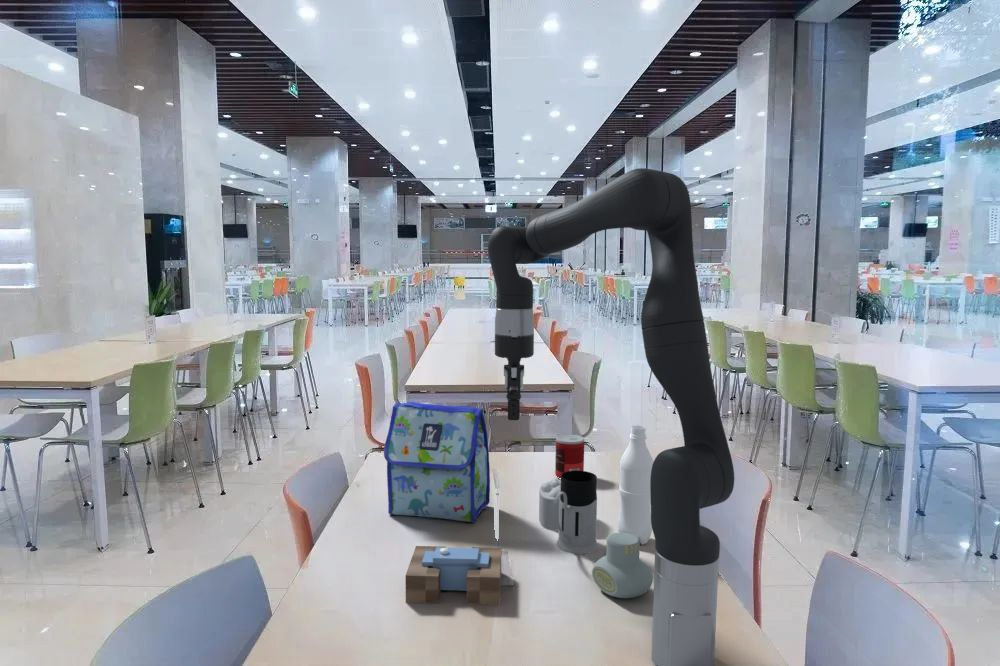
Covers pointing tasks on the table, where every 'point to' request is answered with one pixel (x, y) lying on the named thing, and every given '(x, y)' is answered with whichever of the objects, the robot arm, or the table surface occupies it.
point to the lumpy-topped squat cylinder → (548, 503)
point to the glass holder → (577, 512)
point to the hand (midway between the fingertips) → (513, 414)
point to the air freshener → (622, 568)
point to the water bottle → (636, 487)
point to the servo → (455, 565)
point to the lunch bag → (437, 461)
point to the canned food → (569, 454)
